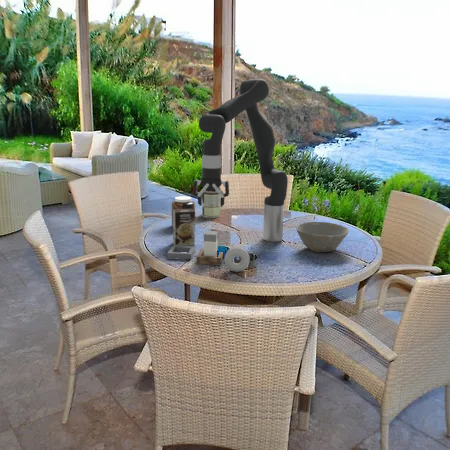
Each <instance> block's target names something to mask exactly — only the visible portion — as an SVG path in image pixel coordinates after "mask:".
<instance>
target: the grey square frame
mask: <svg viewBox="0 0 450 450" xmlns="http://www.w3.org/2000/svg"><path fill="white" fill-rule="evenodd" d="M181 252H187V253H181ZM194 253H195V254H196V246H175V245H172V246H171V247H170V249H169V250H168V252H167V259H168V258H178V259H177V260H184V259H191V260H193V257H194V256H195V254H194ZM193 255H194V256H193Z"/></svg>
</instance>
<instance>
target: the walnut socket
mask: <svg viewBox="0 0 450 450" xmlns="http://www.w3.org/2000/svg"><path fill="white" fill-rule="evenodd" d="M223 260H224V258H223V252H219V255H218V257H215V256H204V248H200V249H199V251H198V253H197V256H196V264H197V263H199V265H212V266H215V265H217V266H221V265H222V263H223Z"/></svg>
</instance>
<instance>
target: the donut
mask: <svg viewBox="0 0 450 450" xmlns="http://www.w3.org/2000/svg"><path fill="white" fill-rule="evenodd" d="M234 257H239V258H240V262H238V263H237V262H235V261H234V260H233V259H234ZM223 260H224V264H225V266H226V268H227V269H228V270H230V271H232V272H236V273H238V272H242V271H244V270H246V269H247V267H249V264H250V261H251V260H250V254H249V253H248V251H247V250H246V249H245V248H243V247H239V246H236V247H232V248H230V249H228V250H227V251H226V253H225V254H224V258H223Z"/></svg>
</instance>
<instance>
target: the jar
mask: <svg viewBox="0 0 450 450" xmlns="http://www.w3.org/2000/svg"><path fill="white" fill-rule="evenodd" d="M192 199H193V198H192V197H191V196H187V195H186V196H185V195H182V196H181V195H180V196H179V195H178V196H175V197H174V200H173V201H172V202H171V227H172V228H173V209H193V210H194V211H195V212H196V204H195V203H196V202H195V201H194V200H192Z"/></svg>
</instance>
